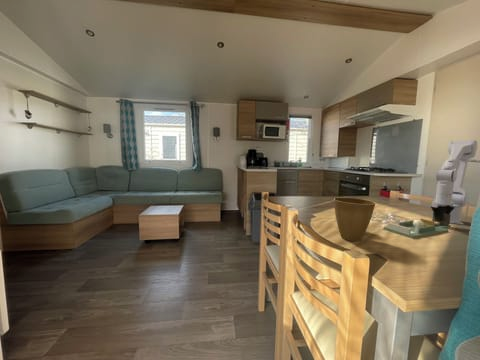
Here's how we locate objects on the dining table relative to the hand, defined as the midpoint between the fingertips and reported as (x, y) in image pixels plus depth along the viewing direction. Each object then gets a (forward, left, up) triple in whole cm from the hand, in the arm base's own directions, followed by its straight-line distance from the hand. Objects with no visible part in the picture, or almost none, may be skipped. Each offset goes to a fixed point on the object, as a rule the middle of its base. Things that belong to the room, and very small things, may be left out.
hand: (441, 220), depth 102 cm
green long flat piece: (+12, -9, -3) cm, 16 cm away
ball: (+15, -11, 0) cm, 18 cm away
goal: (+24, -17, -3) cm, 30 cm away
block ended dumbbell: (+4, -3, -2) cm, 5 cm away
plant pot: (+45, -36, -3) cm, 58 cm away
